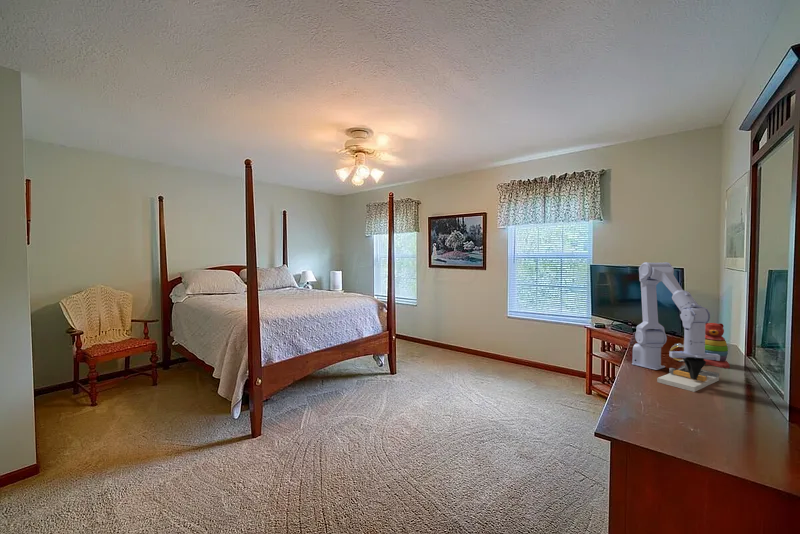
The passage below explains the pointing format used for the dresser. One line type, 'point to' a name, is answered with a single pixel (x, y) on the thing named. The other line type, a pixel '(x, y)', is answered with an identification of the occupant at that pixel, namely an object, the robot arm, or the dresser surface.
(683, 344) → the ring
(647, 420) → the dresser surface
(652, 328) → the robot arm
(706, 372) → the white tray
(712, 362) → the stacking bear
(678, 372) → the orange-brown long box
